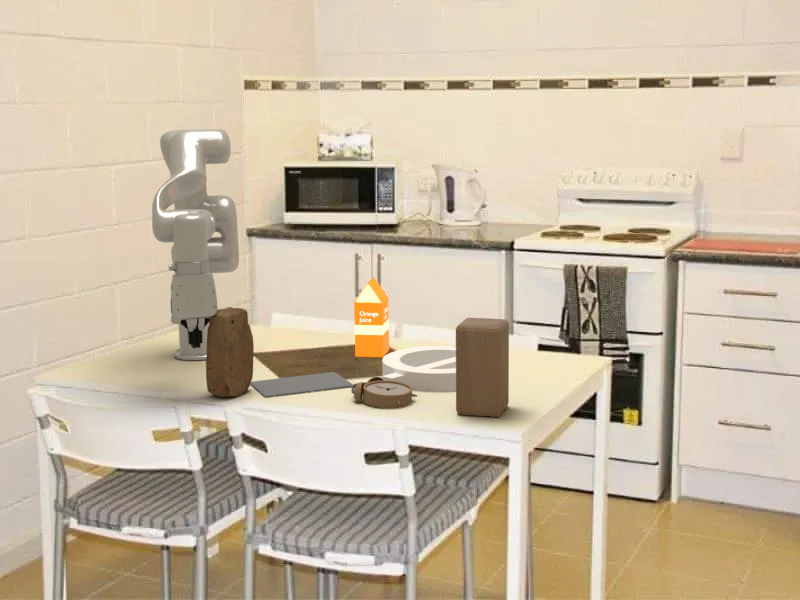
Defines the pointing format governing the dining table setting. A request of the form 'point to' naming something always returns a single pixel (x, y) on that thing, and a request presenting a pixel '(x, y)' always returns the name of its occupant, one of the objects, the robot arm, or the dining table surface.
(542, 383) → the dining table surface
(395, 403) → the alarm clock
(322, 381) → the mat
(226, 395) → the block
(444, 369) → the white circle with bar
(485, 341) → the wooden block
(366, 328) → the orange juice
